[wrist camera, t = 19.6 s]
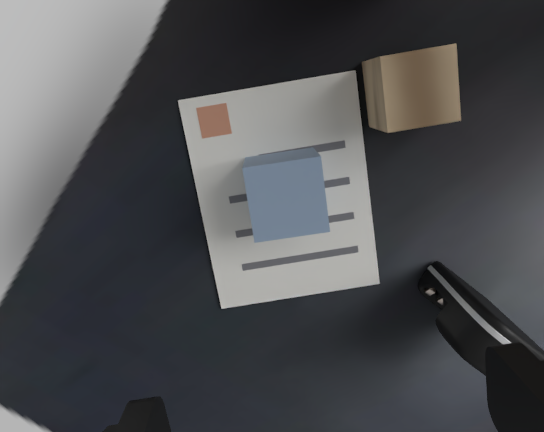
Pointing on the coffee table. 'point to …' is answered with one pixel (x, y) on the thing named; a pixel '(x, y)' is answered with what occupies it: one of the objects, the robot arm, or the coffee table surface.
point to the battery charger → (469, 317)
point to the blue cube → (286, 194)
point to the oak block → (412, 89)
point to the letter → (272, 139)
